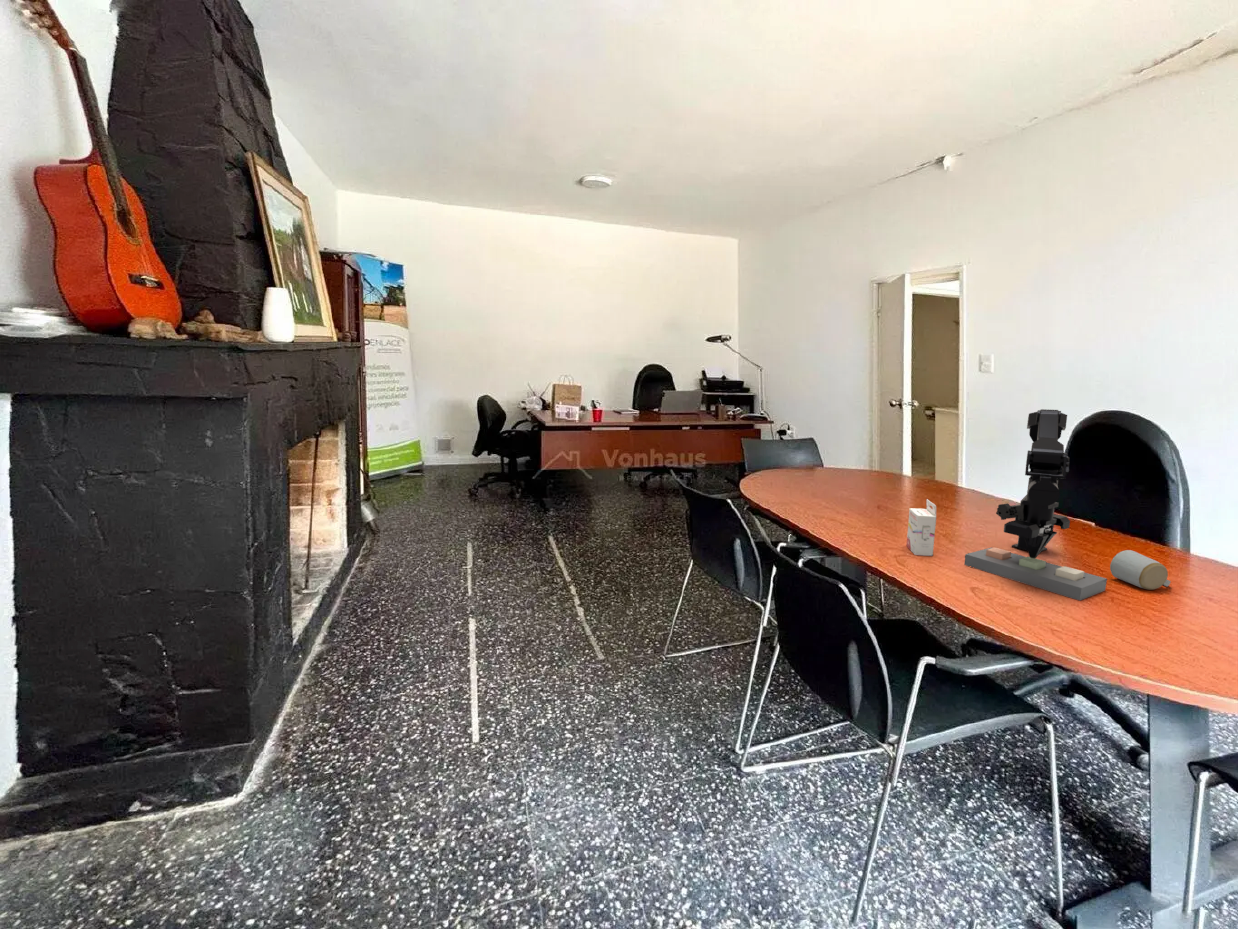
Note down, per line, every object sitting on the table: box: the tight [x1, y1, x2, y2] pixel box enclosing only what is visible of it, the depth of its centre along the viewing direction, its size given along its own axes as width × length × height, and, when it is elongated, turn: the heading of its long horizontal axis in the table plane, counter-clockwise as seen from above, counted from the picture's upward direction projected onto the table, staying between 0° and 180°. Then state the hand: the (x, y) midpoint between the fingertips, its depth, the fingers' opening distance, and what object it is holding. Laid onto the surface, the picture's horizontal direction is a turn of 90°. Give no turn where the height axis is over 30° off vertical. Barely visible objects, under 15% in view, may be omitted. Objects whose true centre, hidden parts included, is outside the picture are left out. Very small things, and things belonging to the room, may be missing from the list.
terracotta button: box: [986, 547, 1012, 560], centre depth 146 cm, size 4×4×2 cm
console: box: [963, 547, 1108, 601], centre depth 139 cm, size 12×26×3 cm, turn 27°
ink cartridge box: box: [906, 498, 937, 557], centre depth 158 cm, size 9×5×15 cm, turn 168°
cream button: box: [1055, 565, 1085, 581], centre depth 132 cm, size 4×4×2 cm
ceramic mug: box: [1109, 549, 1172, 591], centre depth 134 cm, size 11×8×8 cm
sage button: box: [1019, 555, 1047, 570], centre depth 139 cm, size 4×4×2 cm
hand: (1032, 557), depth 139 cm, fingers closed
